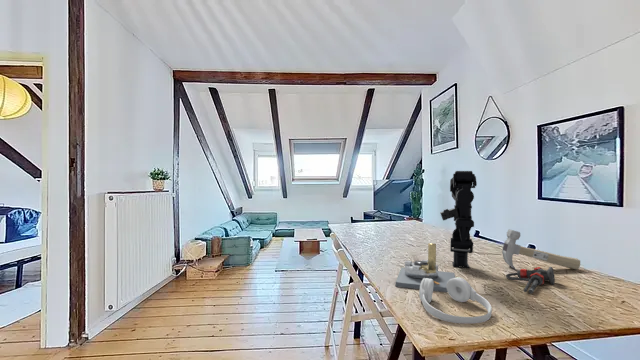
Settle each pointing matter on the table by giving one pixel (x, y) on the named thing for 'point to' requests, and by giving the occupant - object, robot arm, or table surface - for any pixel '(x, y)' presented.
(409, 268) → the brass lever assembly
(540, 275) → the valve
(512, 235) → the hammer
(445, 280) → the housing plate
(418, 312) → the table surface
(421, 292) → the headphones
